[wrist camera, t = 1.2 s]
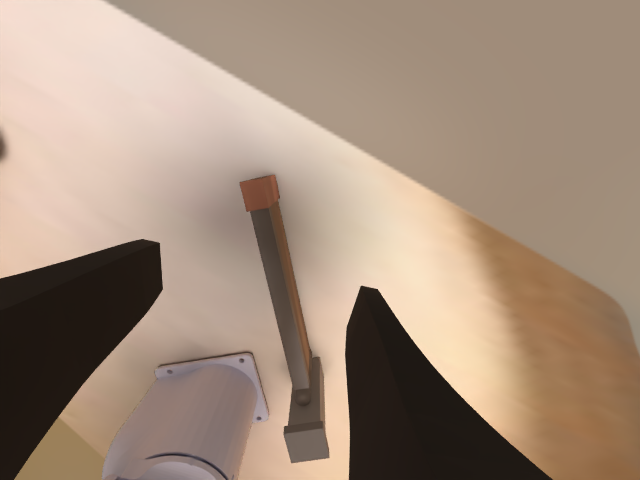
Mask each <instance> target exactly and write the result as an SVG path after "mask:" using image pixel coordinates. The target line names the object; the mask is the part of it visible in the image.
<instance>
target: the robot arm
mask: <svg viewBox="0 0 640 480" xmlns="http://www.w3.org/2000/svg"><path fill="white" fill-rule="evenodd" d="M162 290H163V285H162V270H161V255H160V243H158V242H154V241H149V240H144V239H140V240H136V241H132V242H128V243H124V244H121V245H117V246H114V247H111V248H107V249H104V250H101V251H98V252H94V253H91V254H88V255H84V256H81V257H78V258H74V259H71V260H68V261H64V262H61V263H57V264H54V265H50V266H46V267H43V268H39V269H35V270H32V271H28V272H25V273H21V274H17V275H13V276H9V277H5V278H0V480H14V479H15V477H16V476H17V474H18V473H19V471H20V470H21V468H22V467H23V465H24V464H25V463H26V461H27V460H28V458H29V456H30V455H31V454H32V452H33V451H34V449H35V448H36V447H37V445H38V444H39V443H40V441H41V440H42V438H43V437H44V436H45V434H46V433H47V432H48V430H49V429H50V427H51V426H52V425H53V423H54V422H55V420H56V419H57V418H58V416H59V415H60V414H61V412H62V411H63V410H64V408H65V407H66V406H67V404H68V403H69V402H70V401H71V399H72V398H73V397H74V395H75V394H76V393H77V391H78V390H79V389H80V387H81V386H82V385H83V384H84V382H85V381H86V380H87V379H88V378H89V376H90V375H91V374H92V373H93V372H94V371H95V369H96V368H97V367H98V366H99V365H100V364H101V363H102V362H103V361H104V360H105V358H106V357H107V356H108V355H109V354H110V353H111V352H112V351H113V350H114V349H115V348H116V346H117V345H118V344H119V343H120V342H121V341H122V340H123V339H124V338H125V337H126V336H127V334H128V333H129V332H130V331H131V330H132V329H133V328H134V327H135V326H136V325H137V323H138V322H139V321H140V320H141V319H142V318H143V317H144V315H145V314H146V313H147V312H148V310H149V309H150V308H151V306H152V305H153V303H154V302H155V300H156V299H157V297H158V296H159V294H160V293H161V291H162ZM240 358H243V359H244V360H241V359H240ZM345 359H346V375H347V390H348V404H349V419H350V460H349V480H553V479H551V478H550V477H549V476H548V475H546V474H545V473H544V472H543V471H542V470H540V469H539V468H538V467H537V466H536V465H535V464H533V463H532V462H531V461H530V460H529V459H528V458H526V457H525V456H524V455H523V454H522V453H521V452H519V451H518V450H517V449H516V448H515V447H514V446H513V445H511V444H510V443H509V442H508V441H507V440H506V439H505V438H504V437H502V436H501V435H500V434H499V433H498V432H497V431H496V430H495V429H494V428H493V427H492V426H490V425H489V424H488V423H487V422H486V421H485V420H484V419H483V418H482V417H481V416H480V415H479V414H478V413H477V412H476V411H475V410H474V409H473V408H472V407H471V406H470V405H469V404H468V403H467V402H466V401H465V400H464V399H463V398H462V397H461V396H460V395H459V394H458V393H457V392H456V391H455V390H454V389H453V388H452V387H451V385H450V384H449V383H448V382H447V381H446V380H445V379H444V378H443V377H442V376H441V374H440V373H439V372H438V371H437V370H436V369H435V368H434V366H433V365H432V364H431V363H430V362H429V361H428V359H427V358H426V357H425V356H424V354H423V353H422V352H421V350H420V349H419V348H418V347H417V345H416V344H415V343H414V341H413V340H412V339H411V337H410V336H409V335H408V333H407V332H406V331H405V329H404V328H403V326H402V325H401V324H400V322H399V321H398V319H397V318H396V316H395V315H394V313H393V312H392V310H391V309H390V307H389V306H388V304H387V303H386V301H385V300H384V298H383V296H382V295H381V293H380V292H379V291H378V289H374V288H369V287H365V286H361V287H360V290H359V293H358V296H357V299H356V302H355V305H354V308H353V311H352V314H351V316H350V319H349V322H348V325H347V331H346V349H345ZM170 370H172V371H170ZM155 375H156V378H157V380H156V381H155V382H154V384H153V385H152V386H151V388H150V389H149V391H148V392H147V393H146V395H145V396H144V397H143V399H142V400H141V401H140V403H139V404H138V405H137V407H136V408H135V409H134V411H133V412H132V413H131V415H130V416H129V418H128V419H127V420H126V422H125V423H124V424H123V426H122V427H121V428H120V430H119V431H118V433H117V434H116V436H115V437H114V439H113V441H112V443H111V445H110V448H109V450H108V453H107V455H106V459H105V462H104V466H103V471H102V480H237V479H238V475H239V471H240V467H241V463H242V459H243V455H244V451H245V447H246V443H247V439H248V435H249V431H250V427H251V423H256V422H262V421H267V420H268V418H269V412H268V408H267V405H266V401H265V398H264V394H263V391H262V387H261V383H260V380H259V376H258V373H257V369H256V366H255V362H254V359H253V356H252V354H250V353H243V354H236V355H230V356H224V357H217V358H211V359H204V360H198V361H192V362H185V363H179V364H172V365H166V366H160V367H158V368H157V369H156V370H155ZM258 416H260V417H258Z"/></svg>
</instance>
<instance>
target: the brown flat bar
mask: <svg viewBox="0 0 640 480" xmlns="http://www.w3.org/2000/svg"><path fill="white" fill-rule="evenodd" d="M240 187H241V191H242V195H243V199H244V203H245V207H246V211H247V212H248V211H250V213H251V217H252V221H253V225H254V229H255V234H256V238H257V242H258V246H259V250H260V254H261V258H262V262H263V266H264V270H265V274H266V279H267V283H268V287H269V291H270V295H271V299H272V303H273V307H274V311H275V315H276V319H277V323H278V328H279V332H280V336H281V340H282V344H283V348H284V352H285V356H286V360H287V364H288V368H289V372H290V377H291V381H292V385H293V389H294V390H296V392H295V402H296V403H297V404H298V405H300V406H306V405H308V404H309V403H310V400H311V367H312V351H311V350H310V347H309V343H308V338H307V333H306V329H305V324H304V320H303V315H302V310H301V306H300V301H299V296H298V292H297V287H296V282H295V278H294V273H293V268H292V264H291V259H290V254H289V250H288V245H287V240H286V236H285V231H284V226H283V222H282V217H281V212H280V208H279V203H278V199H279V198H280V196H279V191H278V186H277V182H276V177H275V175H271V176H265V177H260V178H255V179H251V180H247V181H243V182H240Z"/></svg>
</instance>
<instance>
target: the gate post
mask: <svg viewBox="0 0 640 480" xmlns="http://www.w3.org/2000/svg"><path fill="white" fill-rule="evenodd" d="M295 392H296V390H294V389H293V385H292V394H291V403H290V412H289V421H288V426H284V438H285V441H286V445H287V449H288V452H289V456H290V460H291V463H297V462H304V461H311V460H318V459H326V458H329V447H328V443H327V438H326V433H325V400H324V376H323V371H322V366H321V361H320V357H318V358H312V367H311V400H310V403H309V404H308V405H306V406H300V405H298V404H297V403H296V402H295Z"/></svg>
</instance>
